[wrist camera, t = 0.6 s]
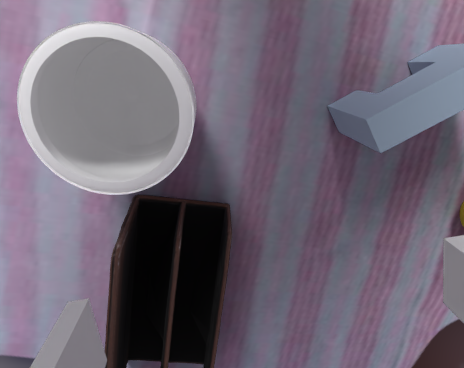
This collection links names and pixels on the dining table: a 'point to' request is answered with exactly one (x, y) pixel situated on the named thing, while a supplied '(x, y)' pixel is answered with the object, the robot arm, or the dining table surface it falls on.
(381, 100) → the gray u-shaped block
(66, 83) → the jar
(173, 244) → the letter holder
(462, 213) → the lemon
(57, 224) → the dining table surface
